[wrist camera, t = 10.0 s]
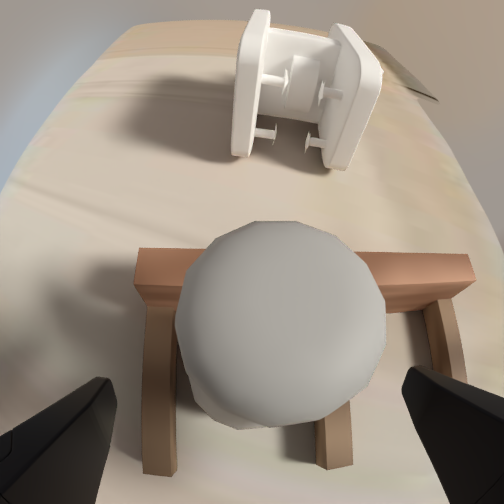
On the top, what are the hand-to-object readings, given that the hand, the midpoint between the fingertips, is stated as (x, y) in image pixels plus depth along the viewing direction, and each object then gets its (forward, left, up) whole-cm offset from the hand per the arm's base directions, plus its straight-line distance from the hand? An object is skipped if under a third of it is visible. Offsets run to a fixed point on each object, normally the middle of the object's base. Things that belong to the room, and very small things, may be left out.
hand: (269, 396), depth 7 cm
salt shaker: (+1, +1, -9) cm, 9 cm away
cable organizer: (+24, +7, -9) cm, 27 cm away
